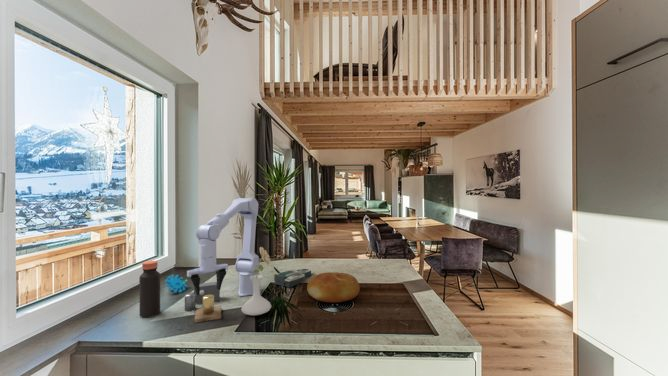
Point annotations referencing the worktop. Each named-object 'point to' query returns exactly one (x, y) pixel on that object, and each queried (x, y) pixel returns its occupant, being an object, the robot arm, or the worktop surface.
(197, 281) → the robot arm
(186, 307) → the steel fitting
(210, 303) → the brass fitting
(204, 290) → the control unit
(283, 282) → the communication device
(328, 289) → the bread
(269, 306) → the flower in vase
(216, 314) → the walnut pad
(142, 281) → the bottle
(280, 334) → the worktop surface
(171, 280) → the blue bumpy lump
